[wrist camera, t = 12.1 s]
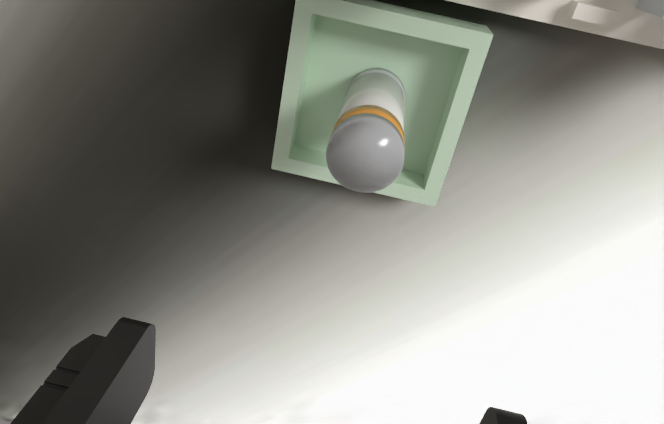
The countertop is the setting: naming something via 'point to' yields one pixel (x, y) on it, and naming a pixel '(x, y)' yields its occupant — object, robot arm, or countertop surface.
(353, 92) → the fuse marked
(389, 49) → the tray
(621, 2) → the holder
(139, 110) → the countertop surface
